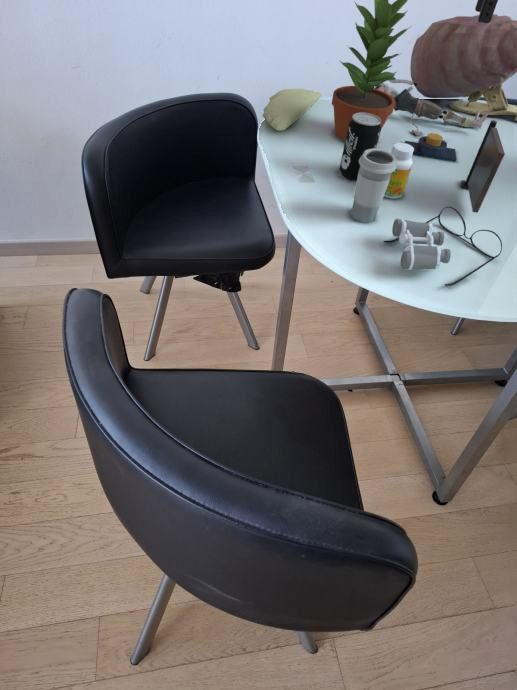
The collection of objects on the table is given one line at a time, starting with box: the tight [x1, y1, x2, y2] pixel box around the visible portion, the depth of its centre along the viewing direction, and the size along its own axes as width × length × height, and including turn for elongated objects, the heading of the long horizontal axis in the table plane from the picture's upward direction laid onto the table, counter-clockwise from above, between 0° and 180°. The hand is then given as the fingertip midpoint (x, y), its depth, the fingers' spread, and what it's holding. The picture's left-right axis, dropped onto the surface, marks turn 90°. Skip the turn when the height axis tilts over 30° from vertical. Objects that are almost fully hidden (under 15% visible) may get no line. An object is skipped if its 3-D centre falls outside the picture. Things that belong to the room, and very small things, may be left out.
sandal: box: [449, 83, 517, 123], centre depth 134 cm, size 13×23×8 cm, turn 51°
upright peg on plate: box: [460, 119, 498, 191], centre depth 101 cm, size 2×2×14 cm
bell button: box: [425, 132, 444, 146], centre depth 114 cm, size 4×4×2 cm
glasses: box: [383, 206, 503, 287], centre depth 87 cm, size 14×15×5 cm
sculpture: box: [410, 13, 517, 99], centre depth 132 cm, size 19×28×30 cm
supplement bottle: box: [383, 142, 414, 200], centre depth 98 cm, size 5×5×10 cm
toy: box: [374, 78, 491, 136], centre depth 126 cm, size 9×16×30 cm
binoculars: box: [391, 218, 452, 271], centre depth 83 cm, size 12×8×4 cm, turn 179°
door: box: [467, 127, 506, 214], centre depth 95 cm, size 1×12×12 cm, turn 168°
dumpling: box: [262, 88, 323, 132], centre depth 123 cm, size 26×4×10 cm
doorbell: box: [404, 135, 458, 163], centre depth 116 cm, size 12×6×2 cm, turn 78°
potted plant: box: [331, 0, 413, 142], centre depth 108 cm, size 15×15×30 cm
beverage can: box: [339, 112, 382, 182], centre depth 101 cm, size 7×7×12 cm
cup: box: [350, 148, 396, 223], centre depth 90 cm, size 7×7×12 cm
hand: (481, 16), depth 92 cm, fingers open, 8 cm apart
